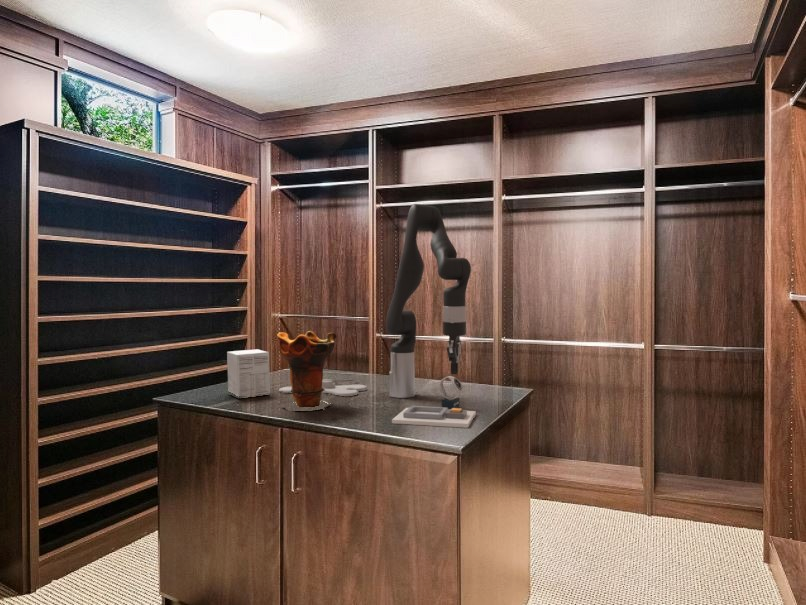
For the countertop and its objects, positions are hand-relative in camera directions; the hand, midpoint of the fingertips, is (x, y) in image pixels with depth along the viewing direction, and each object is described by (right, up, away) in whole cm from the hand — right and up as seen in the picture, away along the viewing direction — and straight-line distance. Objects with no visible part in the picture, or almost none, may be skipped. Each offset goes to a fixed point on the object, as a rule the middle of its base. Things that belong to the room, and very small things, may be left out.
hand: (454, 373), depth 180 cm
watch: (0, -14, +17) cm, 22 cm away
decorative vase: (-51, -15, +22) cm, 58 cm away
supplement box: (-78, -14, +44) cm, 91 cm away
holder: (-50, -14, +50) cm, 72 cm away
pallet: (-6, -15, +1) cm, 16 cm away
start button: (+1, -13, -1) cm, 13 cm away
